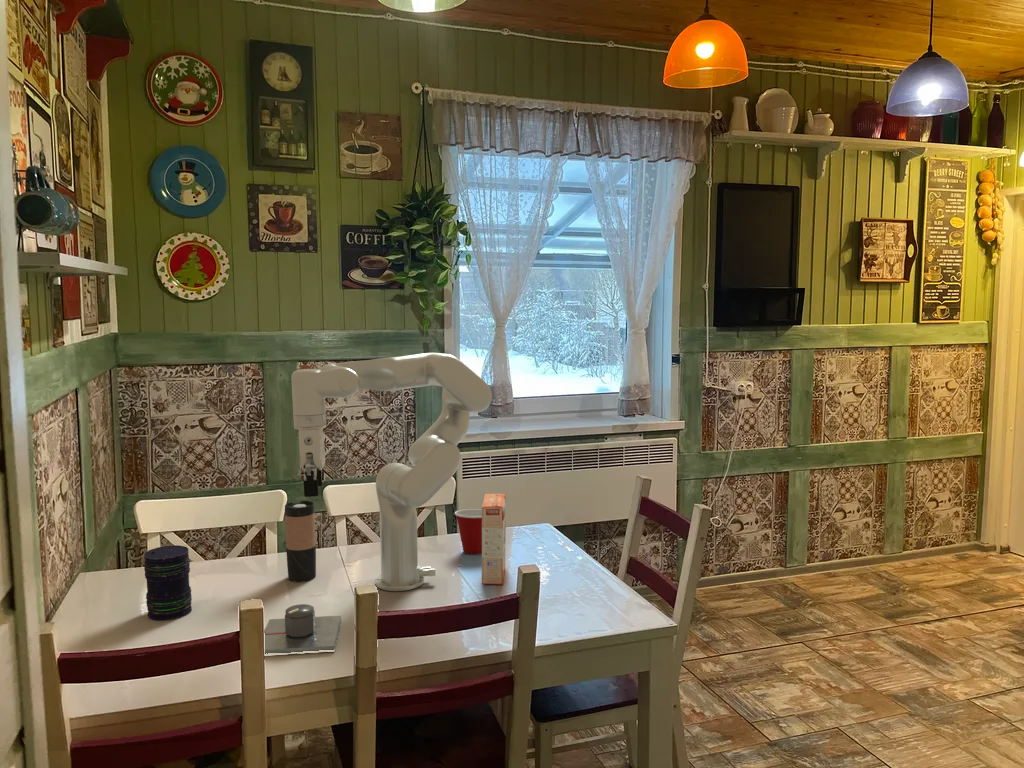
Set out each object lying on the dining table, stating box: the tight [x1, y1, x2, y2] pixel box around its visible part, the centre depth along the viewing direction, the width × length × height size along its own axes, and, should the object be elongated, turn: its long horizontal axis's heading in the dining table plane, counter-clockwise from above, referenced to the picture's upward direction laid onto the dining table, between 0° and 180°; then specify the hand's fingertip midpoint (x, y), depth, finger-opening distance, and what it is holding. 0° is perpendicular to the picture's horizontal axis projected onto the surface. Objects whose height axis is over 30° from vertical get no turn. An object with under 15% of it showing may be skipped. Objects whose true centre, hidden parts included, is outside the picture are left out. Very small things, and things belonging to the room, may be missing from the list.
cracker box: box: [481, 493, 507, 585], centre depth 211 cm, size 14×6×21 cm, turn 178°
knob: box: [284, 603, 316, 637], centre depth 174 cm, size 6×6×5 cm
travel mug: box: [284, 500, 317, 583], centre depth 211 cm, size 8×8×20 cm
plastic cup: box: [454, 508, 482, 555], centre depth 232 cm, size 11×11×12 cm
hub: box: [264, 615, 342, 654], centre depth 174 cm, size 16×16×5 cm
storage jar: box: [143, 545, 193, 622], centre depth 188 cm, size 10×10×15 cm
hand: (313, 491), depth 191 cm, fingers open, 9 cm apart
